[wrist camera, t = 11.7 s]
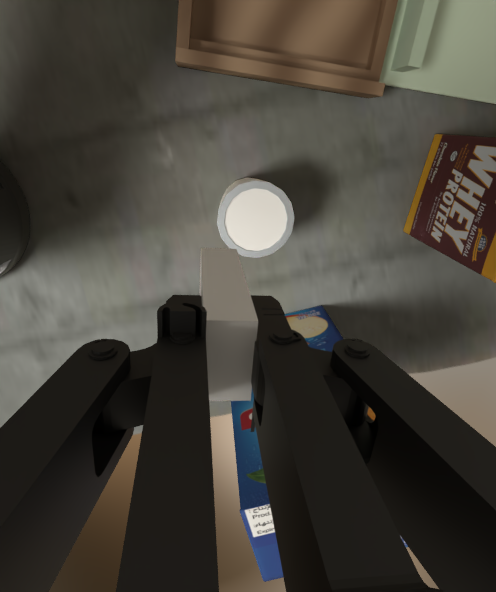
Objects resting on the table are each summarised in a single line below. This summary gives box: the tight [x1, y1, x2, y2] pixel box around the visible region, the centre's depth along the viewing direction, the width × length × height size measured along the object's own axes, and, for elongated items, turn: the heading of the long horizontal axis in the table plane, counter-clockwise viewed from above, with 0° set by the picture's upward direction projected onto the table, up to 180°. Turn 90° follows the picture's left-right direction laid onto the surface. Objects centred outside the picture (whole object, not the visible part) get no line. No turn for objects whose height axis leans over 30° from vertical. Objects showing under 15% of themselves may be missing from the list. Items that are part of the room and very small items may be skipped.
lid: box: [379, 0, 496, 105], centre depth 35 cm, size 14×10×4 cm
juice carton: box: [231, 305, 408, 582], centre depth 37 cm, size 12×8×24 cm, turn 102°
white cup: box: [217, 178, 295, 258], centre depth 38 cm, size 7×7×7 cm
